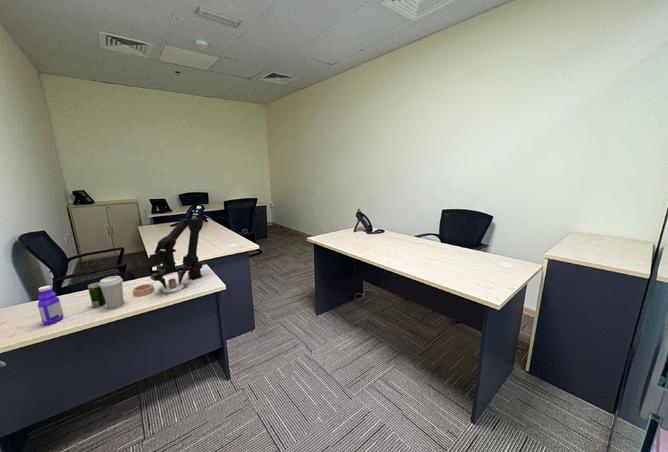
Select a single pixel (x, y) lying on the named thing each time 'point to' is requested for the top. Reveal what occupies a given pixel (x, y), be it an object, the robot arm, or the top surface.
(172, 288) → the lid
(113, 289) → the coffee cup
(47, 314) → the bottle
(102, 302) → the beer can
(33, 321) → the top surface
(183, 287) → the mat
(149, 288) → the bowl
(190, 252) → the robot arm
